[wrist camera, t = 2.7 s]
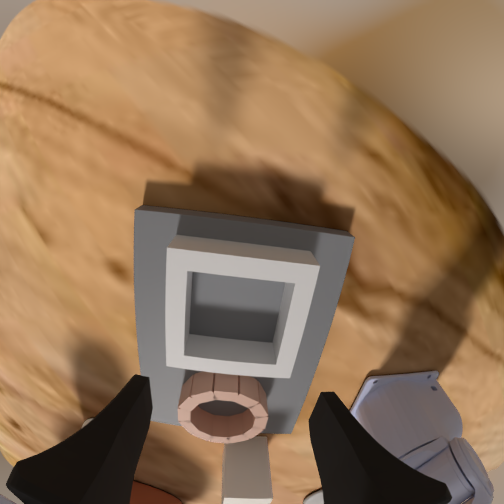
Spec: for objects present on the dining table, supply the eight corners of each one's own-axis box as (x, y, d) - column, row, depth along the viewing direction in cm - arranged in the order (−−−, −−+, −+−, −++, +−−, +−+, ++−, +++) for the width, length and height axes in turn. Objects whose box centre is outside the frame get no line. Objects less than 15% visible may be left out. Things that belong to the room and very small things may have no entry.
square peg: (267, 436, 27) (272, 498, 19) (260, 455, 28) (264, 511, 21) (225, 434, 27) (224, 497, 19) (222, 453, 28) (221, 510, 20)
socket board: (347, 231, 20) (370, 250, 16) (289, 422, 26) (294, 453, 22) (142, 205, 19) (119, 218, 15) (150, 409, 25) (142, 439, 21)
